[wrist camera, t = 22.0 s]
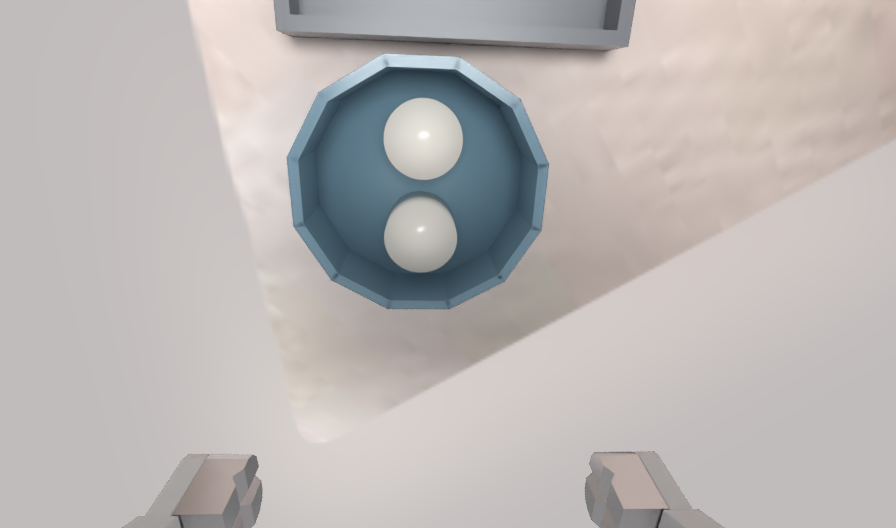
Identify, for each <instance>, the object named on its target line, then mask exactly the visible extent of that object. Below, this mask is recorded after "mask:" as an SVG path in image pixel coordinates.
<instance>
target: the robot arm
mask: <svg viewBox="0 0 896 528" xmlns="http://www.w3.org/2000/svg"><path fill="white" fill-rule="evenodd" d="M589 464H590V467H591V469H592V473H591V474H590V475H589V476H588V477H587V478H586V484H585V500H586V504H587V509H588V512H589V515H590V517H591V520H592V521H593V522H594V523H596V524H597V525H598V526H599V527H600V528H724V527H723V526H721V525H720V524H719V523H717V522H716V521H714V520H713V519H711V518H710V517H709V516H707V515H706V514H704V513H703V512H702V511H700V510H699V509H692V507H691V506H690V504H689V503H688V501H687V499H686V498H685V496H684V495H683V493H682V492H681V490H680V488H679V487H678V485H677V484H676V482H675V481H674V479H673V477H672V476H671V474H670V473H669V471H668V470H667V468H666V466H665V465H664V463H663V462H662V460H661V459H660V457H659V455H658V454H657V453H655V452H654V451H653V452H595V453H593V454H592V456H591V460H590V463H589ZM257 469H258V461H257V457H256V456H255V455H239V454H189V455H187V456H186V457H185V458H183V459H182V461H181V462H180V464H179V465H178V467H177V468H176V470H175V471H174V473H173V474H172V476H171V477H170V479H169V480H168V482H167V483H166V485H165V486H164V488H163V490H162V491H161V493H160V494H159V495H158V497H157V499H156V500H155V502H154V503H153V505H152V506H151V508H150V509H149V511H148V512H147V514H146V515H145V516H139V517H136V518H135V519H134V520H132V521H131V522H129V523H128V524H127V525H125V526H124V527H122V528H251V527H252V526H254V525H255V523H256V520H257V517H258V514H259V511H260V506H261V501H262V484H261V480H260V479H259V478H258V477H256V476H255V474H256V471H257Z"/></svg>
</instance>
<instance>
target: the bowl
mask: <svg viewBox="0 0 896 528" xmlns="http://www.w3.org/2000/svg"><path fill="white" fill-rule="evenodd" d="M418 97H426V98H431V99H435V100H437V101H439V102H441V103H442V104H444V105H446V106H447V107H448V108H449V109H450V110H451V111H452V112H453V113H454V114H455V116H456V117H457V119H458V121H459V123H460V126H461V129H462V134H463V145H462V150H461V154H460V156H459V158H458V160H457V162H456V163H455V165H454V166H453V167H452V168H451V169H450V170H449V171H448V172H447V173H445V174H443V175H442V176H440V177H437V178H434V179H429V180H418V179H413V178H410V177H408V176H406V175H404V174H402V173H401V172H400V171H398V170H397V169H396V168H395V167H394V166H393V164H392V163H391V162H390V160H389V158H388V156H387V154H386V151H385V147H384V130H385V126H386V123H387V121H388V119H389V117H390V115H391V114H392V113H393V112H394V110H395V109H396V108H397V107H399V106H400V105H401V104H403V103H404V102H406V101H408V100H410V99H413V98H418ZM287 165H288V176H289V186H290V196H291V206H292V216H293V227H294V228H295V229H296V231H297V232H298V233H299V235H300V236H301V238H302V239H303V241H304V242H305V243H306V245H307V246H308V248H309V249H310V250H311V252H312V253H313V255H314V256H315V258H316V259H317V260H318V262H319V263H320V265H321V266H322V267H323V269H324V270H325V272H326V273H327V275H328V276H329V277H330V279H331V280H332V281H334V282H336V283H338V284H340V285H342V286H344V287H346V288H348V289H350V290H352V291H354V292H356V293H358V294H360V295H362V296H364V297H365V298H367V299H369V300H371V301H373V302H375V303H377V304H379V305H381V306H383V307H385V308H387V309H451V308H453V307H455V306H457V305H459V304H461V303H463V302H465V301H467V300H469V299H471V298H473V297H475V296H477V295H479V294H481V293H483V292H485V291H487V290H489V289H491V288H492V287H494V286H496V285H498V284H500V283H502V282H504V281H505V280H506V279H507V277H508V276H509V274H510V273H511V272H512V270H513V269H514V268H515V266H516V265H517V263H518V262H519V261H520V259H521V258H522V256H523V255H524V254H525V252H526V251H527V249H528V248H529V247H530V245H531V244H532V242H533V241H534V240H535V238H536V237H537V235H538V234H539V233H540V231H541V228H542V219H543V211H544V203H545V194H546V186H547V177H548V169H549V163H548V161H547V159H546V156H545V154H544V152H543V149H542V147H541V145H540V143H539V140H538V138H537V136H536V133H535V131H534V129H533V126H532V124H531V122H530V120H529V117H528V115H527V113H526V110H525V108H524V106H523V103H522V101H521V99H519V98H518V97H516V96H515V95H513V94H512V93H511V92H509V91H508V90H506V89H505V88H503V87H502V86H501V85H499V84H498V83H496V82H495V81H493V80H492V79H491V78H489V77H488V76H486V75H485V74H483V73H482V72H481V71H479V70H478V69H476V68H475V67H473V66H472V65H471V64H469V63H468V62H466V61H465V60H464V59H462V58H461V57H451V56H428V55H404V54H382V55H380V56H379V57H377V58H375V59H373V60H372V61H370V62H368V63H367V64H365V65H363V66H362V67H360V68H358V69H357V70H355V71H353V72H352V73H350V74H348V75H347V76H345V77H343V78H342V79H340V80H338V81H337V82H335V83H333V84H332V85H330V86H328V87H327V88H325V89H323V90H322V91H320V92H318V95H317V97H316V99H315V101H314V103H313V105H312V107H311V109H310V111H309V113H308V115H307V117H306V119H305V121H304V123H303V125H302V127H301V129H300V131H299V133H298V135H297V137H296V140H295V142H294V144H293V146H292V148H291V150H290V152H289V154H288V156H287ZM416 191H425V192H430V193H433V194H435V195H437V196H439V197H440V198H442V199H443V200H444V201H445V202H446V203H447V204H448V206H449V207H450V209H451V212H452V215H453V218H454V223H455V227H456V232H457V244H456V248H455V251H454V253H453V255H452V257H451V258H450V259H449V260H448V261H447V262H446V263H445V264H444V265H443V266H441V267H440V268H438V269H436V270H433V271H430V272H421V273H420V272H412V271H409V270H406V269H404V268H402V267H400V266H399V265H397V264H396V263H395V262H394V261H393V260H392V259H391V257H390V256H389V254H388V252H387V250H386V247H385V243H384V233H385V228H386V224H387V221H388V217H389V214H390V211H391V209H392V207H393V205H394V204H395V203H396V202H397V200H399V199H400V198H401V197H403V196H404V195H406V194H408V193H411V192H416Z"/></svg>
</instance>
